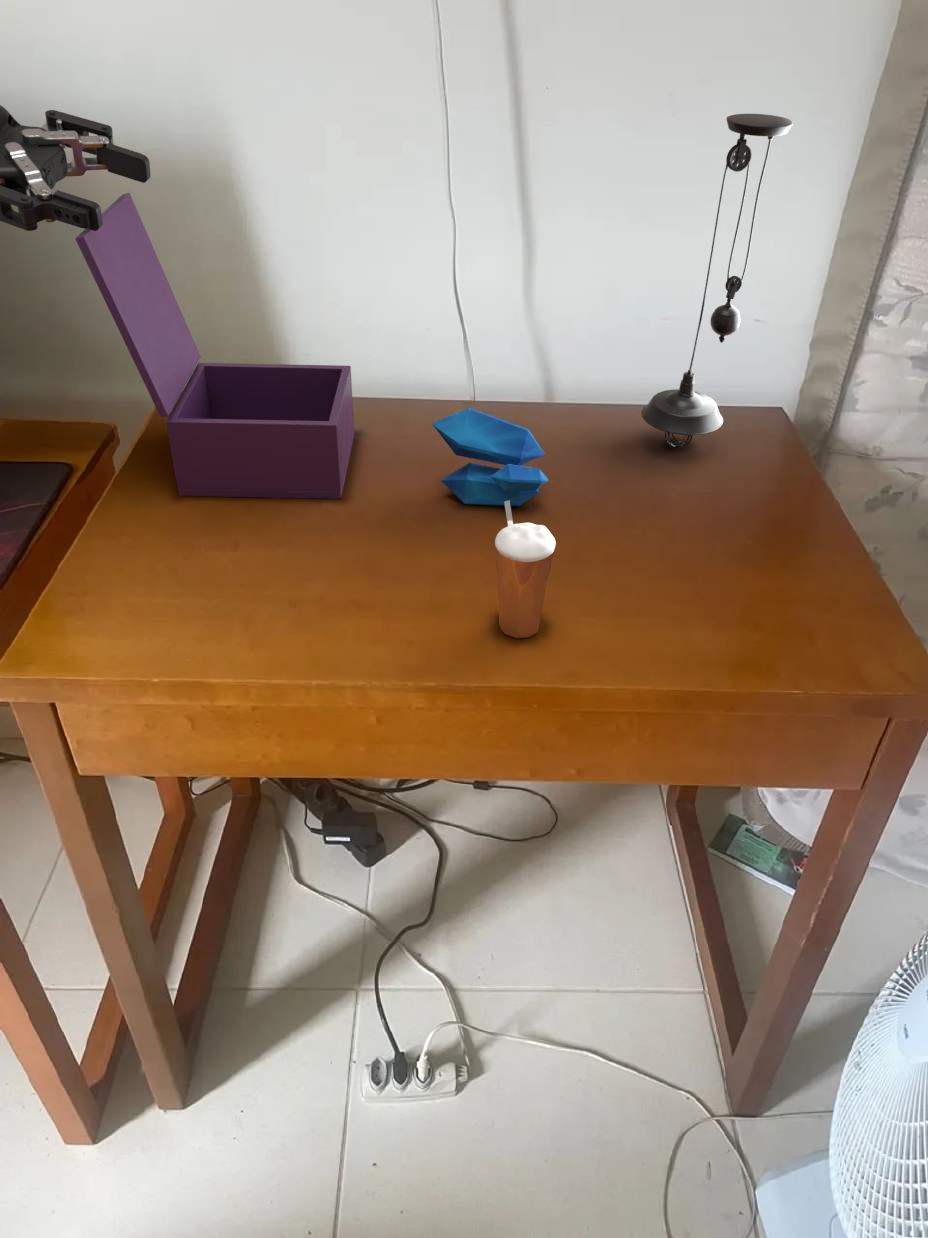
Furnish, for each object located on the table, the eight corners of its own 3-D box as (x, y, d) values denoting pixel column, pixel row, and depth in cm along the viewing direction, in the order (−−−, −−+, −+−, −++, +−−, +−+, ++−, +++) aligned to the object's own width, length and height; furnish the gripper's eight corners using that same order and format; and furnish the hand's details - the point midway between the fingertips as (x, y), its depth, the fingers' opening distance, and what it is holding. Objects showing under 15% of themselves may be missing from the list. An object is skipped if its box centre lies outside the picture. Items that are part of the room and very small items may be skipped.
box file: (354, 434, 105) (350, 365, 101) (341, 499, 94) (336, 424, 90) (208, 431, 105) (198, 362, 100) (178, 495, 94) (165, 421, 90)
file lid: (129, 192, 90) (121, 194, 91) (83, 235, 80) (74, 238, 80) (201, 357, 100) (194, 358, 100) (168, 416, 89) (160, 418, 89)
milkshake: (525, 598, 82) (532, 494, 76) (558, 634, 78) (568, 528, 72) (476, 612, 80) (480, 507, 74) (507, 650, 77) (514, 542, 71)
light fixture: (706, 422, 109) (764, 109, 90) (743, 457, 103) (814, 128, 84) (624, 431, 107) (666, 112, 88) (657, 468, 101) (710, 132, 82)
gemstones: (561, 456, 88) (431, 420, 87) (533, 535, 93) (410, 502, 92) (562, 419, 94) (441, 385, 93) (536, 495, 99) (421, 464, 98)
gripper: (-121, 128, 76) (76, 191, 75) (-17, 57, 85) (160, 112, 84) (-94, 217, 82) (88, 276, 81) (0, 142, 91) (166, 194, 90)
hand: (124, 193), depth 83 cm, fingers open, 8 cm apart
